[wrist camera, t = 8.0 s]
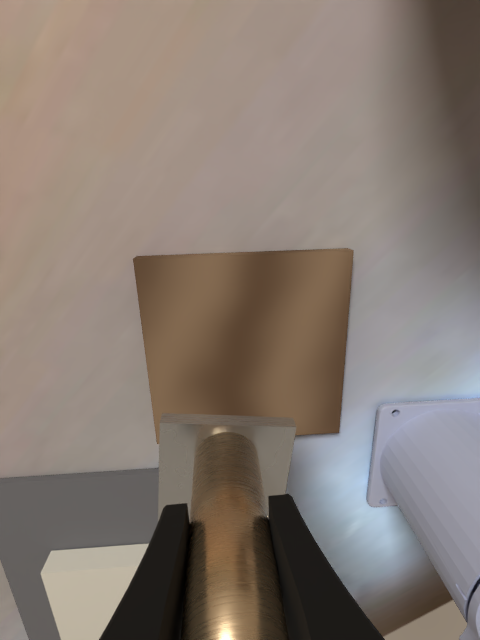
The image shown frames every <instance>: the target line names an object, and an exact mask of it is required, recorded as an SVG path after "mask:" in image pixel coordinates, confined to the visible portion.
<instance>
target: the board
mask: <svg viewBox="0 0 480 640" xmlns="http://www.w3.org/2000/svg"><path fill="white" fill-rule="evenodd" d="M133 262H134V270H135V277H136V285H137V293H138V301H139V308H140V316H141V324H142V331H143V339H144V347H145V354H146V362H147V370H148V378H149V385H150V393H151V401H152V408H153V416H154V424H155V431H156V439H157V444H159V436H160V420H161V415H162V413H174V414H203V415H232V416H260V417H289V418H293V419H294V422H295V425H296V433H295V435H308V434H324V433H339V428H340V415H341V403H342V390H343V378H344V365H345V352H346V340H347V327H348V314H349V302H350V289H351V276H352V264H353V250H351V249H348V248H344V249H318V250H291V251H264V252H237V253H210V254H184V255H157V256H136V257H135V258H134V259H133Z"/></svg>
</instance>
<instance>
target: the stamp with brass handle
mask: <svg viewBox="0 0 480 640" xmlns="http://www.w3.org/2000/svg"><path fill="white" fill-rule="evenodd" d="M295 433H296V425H295V422H294V419H293V418H289V417H260V416H232V415H203V414H174V413H162V415H161V420H160V436H159V495H158V521H159V519H160V516H161V513H162V510H163V508H164V507H165V506H166V505H171V504H182V503H187V505H188V513H189V522H190V526H189V540H188V554H187V565H186V577H185V590H184V603H183V617H182V630H181V640H289V636H288V630H287V624H286V619H285V613H284V607H283V601H282V595H281V589H280V583H279V577H278V571H277V565H276V560H275V554H274V548H273V542H272V536H271V530H270V524H269V505H268V496H272V495H283V494H285V492H286V486H287V480H288V474H289V468H290V462H291V456H292V450H293V445H294V439H295Z"/></svg>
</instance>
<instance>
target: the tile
mask: <svg viewBox="0 0 480 640" xmlns="http://www.w3.org/2000/svg"><path fill="white" fill-rule="evenodd" d="M148 545H149V543H148V544H134V545H121V546H108V547H95V548H81V549H68V550H55V551H51V552H50V554H49V556H48V559H47V561H46V563H45V565H44V567H43V569H42V571H41V577H42V580H43V583H44V586H45V590H46V593H47V596H48V599H49V602H50V606H51V609H52V612H53V615H54V619H55V622H56V625H57V628H58V631H59V635H60V638H61V640H99V638H100V637H101V635H102V633H103V632H104V630H105V628H106V626H107V625H108V623H109V621H110V619H111V618H112V616H113V614H114V612H115V610H116V608H117V607H118V605H119V603H120V601H121V599H122V597H123V596H124V594H125V592H126V590H127V588H128V586H129V584H130V582H131V580H132V578H133V576H134V574H135V572H136V570H137V568H138V566H139V564H140V562H141V560H142V558H143V556H144V554H145V552H146V549H147V547H148Z"/></svg>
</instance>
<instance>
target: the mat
mask: <svg viewBox="0 0 480 640" xmlns="http://www.w3.org/2000/svg"><path fill="white" fill-rule="evenodd" d="M158 495H159V468H153V469H138V470H123V471H107V472H92V473H77V474H62V475H46V476H31V477H16V478H1V479H0V560H1V563H2V566H3V568H4V571H5V574H6V577H7V579H8V582H9V585H10V588H11V591H12V593H13V596H14V599H15V602H16V605H17V607H18V610H19V613H20V616H21V618H22V621H23V624H24V627H25V630H26V632H27V635H28V638H29V640H61V638H60V635H59V631H58V628H57V625H56V622H55V619H54V615H53V612H52V609H51V606H50V602H49V599H48V596H47V593H46V590H45V586H44V583H43V580H42V577H41V571H42V569H43V567H44V565H45V563H46V561H47V559H48V556H49V554H50V552H51V551H55V550H68V549H81V548H95V547H108V546H121V545H134V544H148V543H150V540H151V538H152V536H153V533H154V531H155V529H156V526H157V524H158Z"/></svg>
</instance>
